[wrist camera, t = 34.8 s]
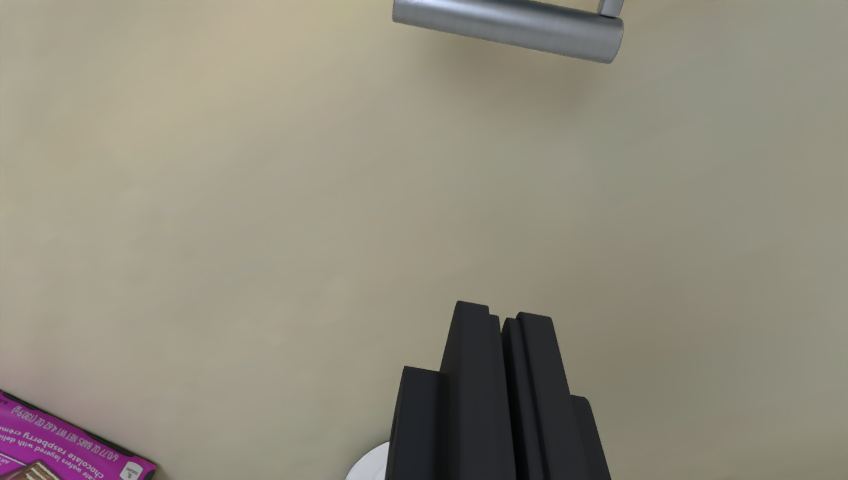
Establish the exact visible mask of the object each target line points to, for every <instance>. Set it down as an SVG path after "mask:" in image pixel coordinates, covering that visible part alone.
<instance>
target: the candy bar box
mask: <svg viewBox="0 0 848 480" xmlns="http://www.w3.org/2000/svg"><path fill="white" fill-rule="evenodd" d="M156 468H157V466H156V465H154V464H152V463H150V462H148V461H146V460H144V459H142V458H139V457H137V456H135V455H133V454H131V453H129V452H126V451H124V450H122V449H120V448H118V447H116V446H114V445H112V444H110V443H108V442H106V441H103V440H101V439H99V438H97V437H95V436H93V435H91V434H89V433H87V432H85V431H82V430H80V429H78V428H76V427H74V426H72V425H70V424H68V423H66V422H63V421H61V420H59V419H57V418H55V417H53V416H51V415H49V414H47V413H44V412H42V411H40V410H38V409H36V408H34V407H32V406H30V405H28V404H26V403H24V402H22V401H20V400H18V399H16V398H13V397H11V396H9V395H7V394H5V393H3V392H1V391H0V480H151V479H152V477H153V475H154V473H155V471H156Z"/></svg>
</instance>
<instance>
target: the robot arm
mask: <svg viewBox="0 0 848 480" xmlns="http://www.w3.org/2000/svg"><path fill="white" fill-rule="evenodd" d="M385 480H611V477H610V473H609V470H608V466H607V463H606V459H605V456H604V452H603V448H602V445H601V441H600V438H599V434H598V431H597V427H596V424H595V420H594V416H593V413H592V409H591V406H590V404H589V401H588V400H587V399H586V398H585V397H581V396H575V395H570V391H569V387H568V383H567V379H566V375H565V371H564V367H563V363H562V359H561V355H560V351H559V346H558V342H557V338H556V334H555V330H554V326H553V322H552V319H551V318H550V317H548V316H542V315H536V314H531V313H525V312H519V313H518V314H517V316H516V319H513V318H508V317H507V318H506V320H505V322H504V325H503V328H502V332H501V331H500V322H499V316H497V315H491V314H489V308H488V306H486V305H481V304H475V303H470V302H464V301H457V303H456V306H455V310H454V314H453V318H452V322H451V326H450V330H449V334H448V338H447V342H446V346H445V350H444V354H443V359H442V363H441V367H440V371H439V372H438V371H432V370H426V369H420V368H415V367H409V366H404V369H403V373H402V377H401V382H400V387H399V392H398V396H397V401H396V406H395V412H394V417H393V423H392V429H391V436H390V442H389V449H388V457H387V465H386V472H385Z"/></svg>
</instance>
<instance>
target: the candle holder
mask: <svg viewBox="0 0 848 480" xmlns="http://www.w3.org/2000/svg"><path fill="white" fill-rule="evenodd" d="M389 442H390V441H389ZM389 442H386V443H384V444H382V445H380V446H378V447H376V448H375V449H373V450H371V451H370V452H368V453H367V454H366V455H364V456H363V457H362V458H361V459H360V460H359V461H358V462H357V463H356V464H355V465H354V466H353V468H352V469H351V470H350V472H349V474H348V475H347V477H346V479H345V480H385V472H386V465H387V457H388V449H389Z"/></svg>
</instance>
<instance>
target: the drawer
mask: <svg viewBox="0 0 848 480" xmlns="http://www.w3.org/2000/svg"><path fill="white" fill-rule="evenodd" d="M623 2H624V0H600V1H599V5H598V8H597V12H598V13H599V14H598V13H593V12H588V11H583V10H578V9H573V8H568V7H563V6H558V5H553V4H548V3H543V2H538V1H533V0H394V3H393V11H392V20H393V22H396V23H401V24H406V25H411V26H416V27H421V28H426V29H431V30H437V31H442V32H447V33H452V34H457V35H462V36H467V37H472V38H477V39H482V40H487V41H492V42H497V43H502V44H508V45H513V46H518V47H523V48H528V49H533V50H538V51H543V52H548V53H553V54H558V55H563V56H568V57H573V58H578V59H584V60H589V61H594V62H599V63H604V64H610V63H611V62H612V61H613V60H614V58H615V56H616V55H617V52H618V50H619V47H620V44H621V41H622V37H623V30H624V23H623V20H622V19H621V18H618V17H619V14H620V11H621V8H622V5H623Z"/></svg>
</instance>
